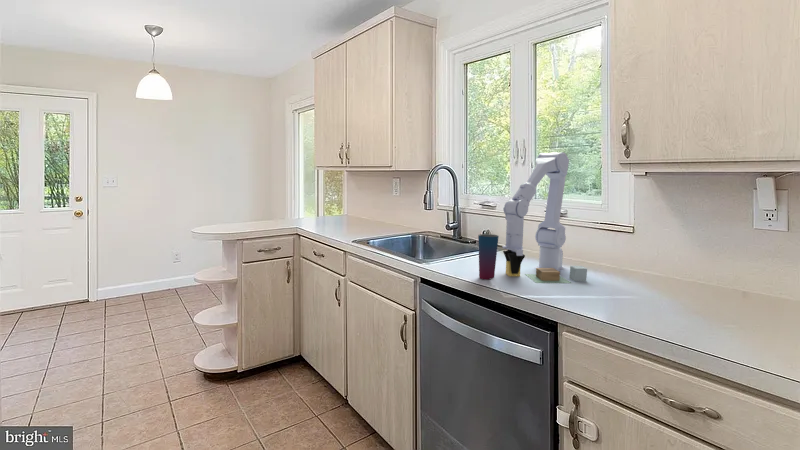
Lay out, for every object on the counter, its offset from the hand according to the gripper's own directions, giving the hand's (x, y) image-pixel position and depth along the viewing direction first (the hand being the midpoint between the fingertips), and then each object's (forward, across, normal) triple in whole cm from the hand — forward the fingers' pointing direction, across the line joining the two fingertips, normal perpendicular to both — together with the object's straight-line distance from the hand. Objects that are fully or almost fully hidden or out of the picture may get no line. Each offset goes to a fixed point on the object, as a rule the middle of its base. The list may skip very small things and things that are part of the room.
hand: (512, 272), depth 150 cm
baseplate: (+2, +5, +11) cm, 12 cm away
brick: (+2, +6, +20) cm, 22 cm away
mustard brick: (+1, 0, 0) cm, 1 cm away
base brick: (+1, +5, +11) cm, 12 cm away
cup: (+2, +3, -10) cm, 10 cm away
